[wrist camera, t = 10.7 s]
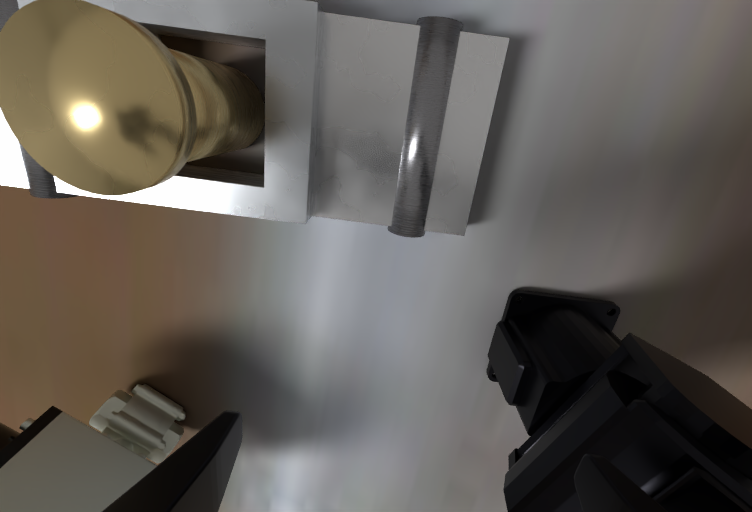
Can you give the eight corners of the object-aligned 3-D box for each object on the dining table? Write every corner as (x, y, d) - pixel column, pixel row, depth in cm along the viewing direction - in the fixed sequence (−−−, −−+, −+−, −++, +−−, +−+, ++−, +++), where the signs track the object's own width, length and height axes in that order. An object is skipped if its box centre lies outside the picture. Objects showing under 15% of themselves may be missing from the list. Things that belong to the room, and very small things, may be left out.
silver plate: (501, 37, 17) (526, 19, 14) (458, 232, 20) (470, 253, 17) (2, -33, 16) (-87, -66, 13) (47, 179, 20) (-14, 190, 17)
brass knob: (275, 61, 17) (170, 11, 9) (274, 165, 19) (185, 206, 11) (172, 47, 17) (-31, -17, 9) (180, 153, 19) (18, 183, 11)
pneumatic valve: (94, 339, 24) (-166, 539, 13) (239, 431, 26) (131, 664, 15) (60, 387, 25) (-198, 601, 14) (200, 469, 28) (75, 704, 17)
